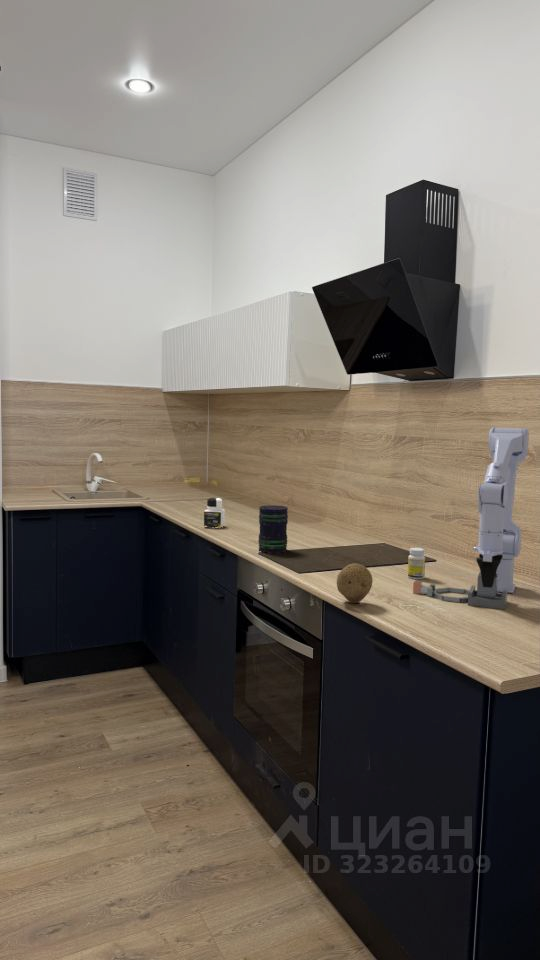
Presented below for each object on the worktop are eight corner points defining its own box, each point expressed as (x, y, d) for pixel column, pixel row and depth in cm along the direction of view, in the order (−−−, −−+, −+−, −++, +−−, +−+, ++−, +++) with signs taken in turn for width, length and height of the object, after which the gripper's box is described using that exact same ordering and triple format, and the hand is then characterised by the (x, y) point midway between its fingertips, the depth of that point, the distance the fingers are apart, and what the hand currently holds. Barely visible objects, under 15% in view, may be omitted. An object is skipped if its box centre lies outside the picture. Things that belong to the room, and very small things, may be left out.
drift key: (415, 590, 184) (415, 580, 184) (432, 592, 182) (432, 582, 182) (413, 593, 182) (413, 582, 181) (430, 595, 180) (430, 584, 180)
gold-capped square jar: (478, 591, 176) (480, 562, 175) (496, 593, 174) (498, 564, 173) (476, 595, 172) (478, 565, 171) (495, 597, 170) (496, 567, 169)
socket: (432, 589, 186) (432, 581, 186) (477, 594, 182) (478, 586, 182) (425, 598, 177) (425, 590, 176) (473, 604, 172) (473, 596, 172)
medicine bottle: (203, 528, 280) (203, 498, 279) (208, 525, 287) (208, 496, 286) (220, 528, 279) (221, 499, 278) (224, 526, 286) (225, 497, 285)
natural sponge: (369, 609, 165) (370, 568, 164) (332, 606, 167) (333, 566, 167) (373, 600, 174) (375, 561, 173) (338, 597, 176) (339, 558, 175)
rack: (471, 597, 178) (471, 585, 178) (506, 601, 175) (507, 589, 175) (467, 605, 171) (468, 592, 171) (504, 609, 168) (505, 596, 167)
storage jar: (281, 547, 242) (282, 505, 240) (291, 552, 233) (292, 508, 231) (254, 548, 239) (255, 505, 237) (263, 554, 229) (264, 509, 228)
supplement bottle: (413, 575, 203) (414, 546, 202) (427, 577, 200) (428, 549, 199) (404, 577, 200) (405, 548, 199) (418, 580, 196) (419, 551, 195)
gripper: (477, 525, 180) (474, 577, 181) (471, 534, 166) (468, 589, 167) (505, 527, 177) (503, 579, 178) (501, 536, 163) (499, 592, 165)
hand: (488, 584), depth 173 cm, fingers closed on gold-capped square jar, 4 cm apart
